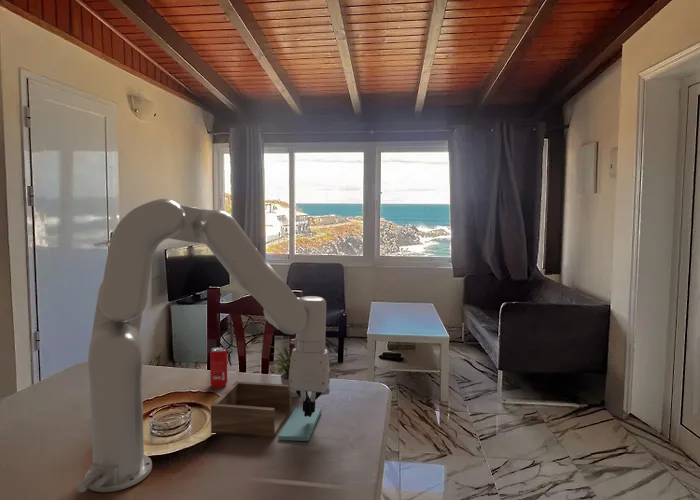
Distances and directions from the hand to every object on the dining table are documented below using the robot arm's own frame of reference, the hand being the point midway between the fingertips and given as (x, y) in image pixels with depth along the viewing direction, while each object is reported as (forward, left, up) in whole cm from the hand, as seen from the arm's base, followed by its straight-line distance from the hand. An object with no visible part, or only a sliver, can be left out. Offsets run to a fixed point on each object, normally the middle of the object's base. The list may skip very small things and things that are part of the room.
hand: (308, 414), depth 112 cm
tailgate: (0, +6, -3) cm, 7 cm away
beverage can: (+23, +35, -4) cm, 42 cm away
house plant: (+19, +11, -4) cm, 23 cm away
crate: (0, +15, -4) cm, 16 cm away
